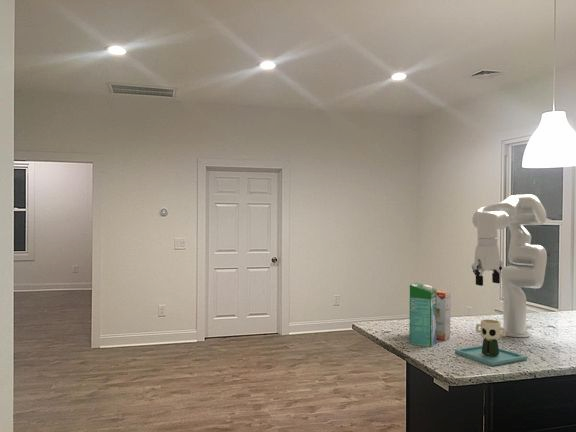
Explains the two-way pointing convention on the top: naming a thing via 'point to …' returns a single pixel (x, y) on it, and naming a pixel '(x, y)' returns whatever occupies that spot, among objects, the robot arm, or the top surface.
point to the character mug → (490, 335)
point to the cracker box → (443, 315)
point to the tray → (500, 359)
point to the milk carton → (422, 315)
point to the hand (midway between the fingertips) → (487, 284)
